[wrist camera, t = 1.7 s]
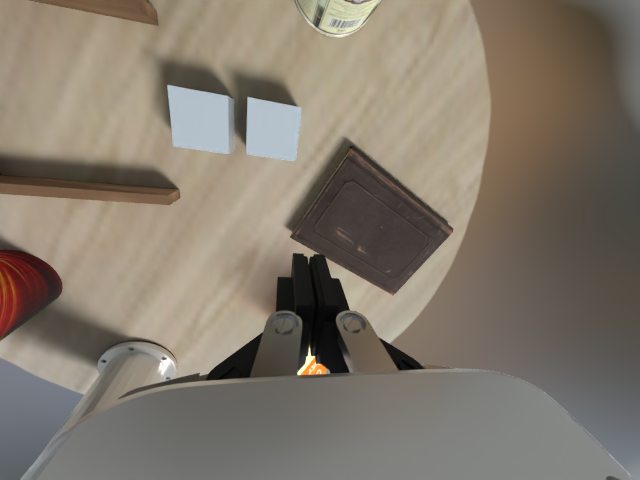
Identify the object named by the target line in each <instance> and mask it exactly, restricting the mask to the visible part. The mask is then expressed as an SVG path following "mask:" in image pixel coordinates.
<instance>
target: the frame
mask: <svg viewBox="0 0 640 480" xmlns="http://www.w3.org/2000/svg"><path fill="white" fill-rule="evenodd" d="M31 1H36V2H41V3H46V4H51V5H56V6H61V7H66V8H71V9H76V10H82V11H87V12H92V13H97V14H102V15H107V16H112V17H117V18H122V19H127V20H133V21H138V22H143V23H148V24H153V25H158V19H157V11H156V10H155V9H154V8H153V7H152V6H151V5H150V4H149V3H148V2H147V1H146V0H31ZM0 194H13V195H28V196H42V197H57V198H72V199H87V200H102V201H117V202H132V203H147V204H162V205H170V204H172V203H173V202H175V201H176V200H178V199H179V198H180V192H179V189H169V188H157V187H144V186H131V185H119V184H106V183H93V182H81V181H68V180H55V179H43V178H30V177H17V176H5V175H1V174H0Z"/></svg>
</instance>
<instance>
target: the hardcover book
mask: <svg viewBox="0 0 640 480" xmlns="http://www.w3.org/2000/svg"><path fill="white" fill-rule="evenodd" d="M350 148H351V149H350V150H349V152H348V153H347V155H346V156H345V158H344V159H343V161H342V162H341V163H340V165H339V166H338V168H337V169H336V171H335V172H334V173H333V175H332V176H331V178H330V179H329V181H328V182H327V184H326V185H325V186H324V188H323V189H322V191H321V192H320V194H319V195H318V197H317V198H316V199H315V201H314V202H313V204H312V205H311V207H310V208H309V210H308V211H307V212H306V214H305V215H304V217H303V218H302V220H301V221H300V223H299V224H298V225H297V227H296V228H295V230H294V231H293V233H292V235H291V236H290V238H292V239H294V240H296V241H297V242H299V243H301V244H303V245H304V246H306V247H308V248H310V249H312V250H313V251H315V252H317V253H319V254H322V255H325V257H326V258H328V259H329V260H331V261H333V262H335V263H336V264H338V265H340V266H342V267H344V268H345V269H347V270H349V271H351V272H352V273H354V274H356V275H358V276H360V277H361V278H363V279H365V280H367V281H368V282H370V283H372V284H374V285H376V286H377V287H379V288H381V289H383V290H384V291H386V292H388V293H390V294H392V295H394V294H395V293H396V292H397V291H398V290H399V289H400V288H401V287H402V286H403V285H404V284H405V283H406V281H407V280H408V279H409V278H410V277H411V276H412V275H413V274H414V273H415V272H416V271H417V270H418V269H419V268H420V267H421V265H422V264H423V263H424V262H425V261H426V260H427V259H428V258H429V257H430V256H431V255H432V254H433V253H434V252H435V250H436V249H437V248H438V247H439V246H440V245H441V244H442V243H443V242H444V241H445V240H446V239H447V238H448V237H449V236H450V234H451V233H452V232H453V228H452V227H451V226H450V225H448V224H447V223H446V222H445V221H443V220H442V219H441V218H440V217H439V216H437V215H436V214H435V213H434V212H432V211H431V210H430V209H429V208H428V207H426V206H425V205H424V204H423V203H422V202H420V201H419V200H418V199H417V198H415V197H414V196H413V195H412V194H411V193H409V192H408V191H407V190H406V189H404V188H403V187H402V186H401V185H400V184H398V183H397V182H396V181H395V180H394V179H392V178H391V177H390V176H389V175H387V174H386V173H385V172H384V171H383V170H381V169H380V168H379V167H378V166H376V165H375V164H374V163H373V162H372V161H370V160H369V159H368V158H367V157H366V156H364V155H363V154H362V153H361V152H359V151H358V150H357V149H356V148H355V147H353V146H350Z"/></svg>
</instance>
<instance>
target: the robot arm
mask: <svg viewBox="0 0 640 480" xmlns="http://www.w3.org/2000/svg"><path fill="white" fill-rule="evenodd" d="M309 345H310V353H311V356H315V361H316V364H322V365H323V366H324V367H325V368H326V374H313V375H297V372H298V371H299V370H300V369H301V368H302V367H303V366H304V365H305V363H306V357H307V356H308V352H309ZM97 367H98V372H99V374H100V375H99V376H98V378H97V379H96V380H95V382H94V383H93V384H92V386H91V387H90V388H89V390H88V391H87V393H86V394H85V395H84V397H83V398H82V399H81V401H80V402H79V403H78V405H77V406H76V407H75V409H74V410H73V412H72V413H71V414H70V415H69V417H68V418H67V420H66V421H65V422H64V424H63V425H62V426H61V428H60V429H59V430H58V432H57V433H56V434H55V436H54V437H53V438H52V440H51V441H50V442H49V444H48V445H47V446H46V448H45V449H44V451H43V452H42V454H41V455H40V456H39V458H38V459H37V460H36V461H35V463H34V464H33V465H32V466H31V467H30V468H29V470H28V471H27V472H26V473H25V474H24V476H23V477H22V478H21V479H20V480H635V479H634V478H633V477H632V476H631V475H630V474H629V473H628V472H627V471H626V470H625V469H624V468H623V467H622V466H621V465H620V464H619V463H618V462H617V461H616V460H615V459H614V458H613V457H612V456H611V455H610V454H609V453H608V452H607V450H605V448H604V447H603V446H602V445H601V444H600V443H599V442H598V441H597V440H596V439H595V438H594V437H593V436H592V435H590V433H589V432H588V431H587V430H586V429H584V428H583V426H582V425H581V424H580V423H579V422H577V421H576V420H575V419H574V418H573V417H572V416H571V415H570V414H569V413H568V412H567V411H566V410H565V409H564V408H563V407H561V406H560V405H559V404H558V403H557V402H556V401H555V400H553V399H552V398H551V397H550V396H549V395H547V394H546V393H545V392H544V391H542V390H540V389H539V388H537V387H536V386H534V385H532V384H530V383H528V382H526V381H523V380H521V379H518V378H516V377H512V376H509V375H506V374H503V373H498V372H492V371H487V370H477V369H454V368H449V367H443V366H438V365H432V364H427V363H424V364H423V366H421V365H420V364H419V363H418V362H417V361H416V360H414V359H413V358H412V357H410V356H408V355H407V354H405V353H403V352H402V351H400V350H398V349H397V348H395V347H393V346H392V345H390V344H389V343H387V342H385V341H384V340H382V339H381V338H379V337H378V336H377V334H376V333H375V331H374V329H373V328H372V326H371V324H370V323H369V321H368V320H367V319H366V317H365V316H363V315H362V314H360V313H358V312H356V311H350V309H349V306H348V303H347V300H346V297H345V294H344V292H343V289H342V286H341V283H340V280H339V279H337V278H331V275H330V272H329V268H328V265H327V262H326V258H325V255H322V254H314V256H313V257H310V260H309V264H308V258H307V257H306V256H304V254H297V253H293V259H292V272H291V277H278V283H277V302H276V312H275V313H273V314H272V315H271V316H270V317H269V318H268V320H267V321H266V325H265V328H264V331H263V333H261V334H260V335H258V336H257V337H256V338H254V339H253V340H252V341H250V342H249V343H247V344H246V345H245V346H243V347H242V348H241V349H239V350H238V351H236V352H235V353H234V354H232V355H231V356H230V357H228V358H227V359H225V360H224V361H223V362H221V363H220V364H219V365H217V366H216V367H215V368H214V369H213V370H212V371H210V373H209V374H206V375H202V376H200V373H197V374H192V375H188V376H184V377H180V378H176V379H173V378H174V376H175V374H176V371H177V362H176V360H175V358H174V357H173V356H172V354H171V353H170V352H168V351H167V350H166V349H164V348H162V347H160V346H158V345H155V344H151V343H147V342H139V341H138V342H124V343H120V344H117V345H115V346H112V347H111V348H109V349H108V350H106V351H105V353H104V354H103V355H102V356H101V358H100V359H99V361H98V365H97Z"/></svg>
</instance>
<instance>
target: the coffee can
mask: <svg viewBox="0 0 640 480" xmlns="http://www.w3.org/2000/svg"><path fill="white" fill-rule="evenodd" d="M295 1H296V4H297V7H298V9H299V11H300V12H301V14H302V16H303V17H304V19H305V20H306V21H307V22H308V24H309V25H310V26H311V27H313V28H314V29H315V30H316V31H318V32H320V33H321V34H324V35H325V36H330V37H344V36H348V35H351V34H353V33H354V32H356V31H358V30H359V29H360V28H361V27H362V26H363V25H364V24H365V23H366V22H367V21H368V19H369V18H370V16H371V15H372V13H373V12H374V11H375V9H376V8H377V6H378V5H379V4H380V3H381V1H382V0H295Z"/></svg>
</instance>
